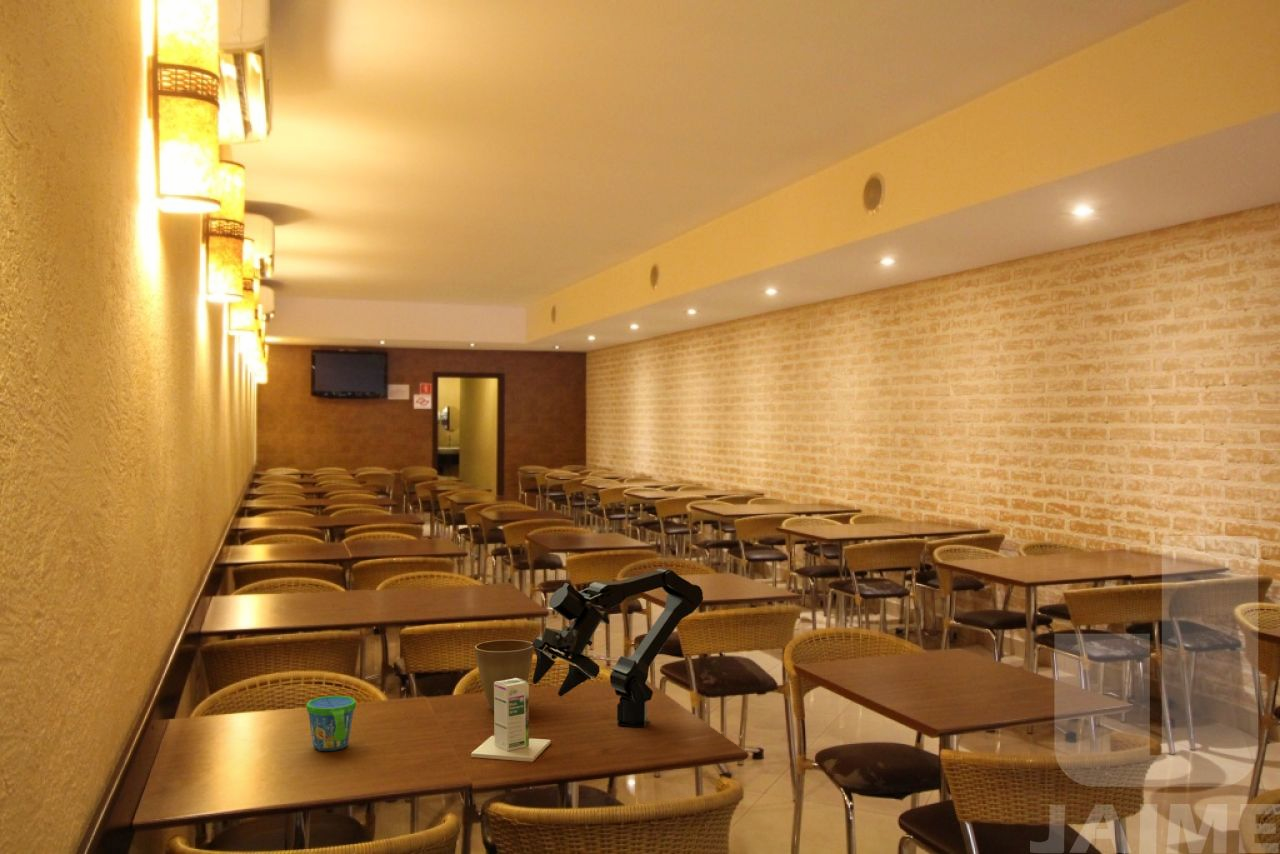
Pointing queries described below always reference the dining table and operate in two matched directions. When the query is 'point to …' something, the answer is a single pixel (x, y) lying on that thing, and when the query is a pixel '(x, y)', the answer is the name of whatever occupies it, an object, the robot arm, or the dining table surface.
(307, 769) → the dining table surface
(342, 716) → the snack cup
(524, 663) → the plant pot
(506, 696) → the syrup box
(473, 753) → the cream mat
